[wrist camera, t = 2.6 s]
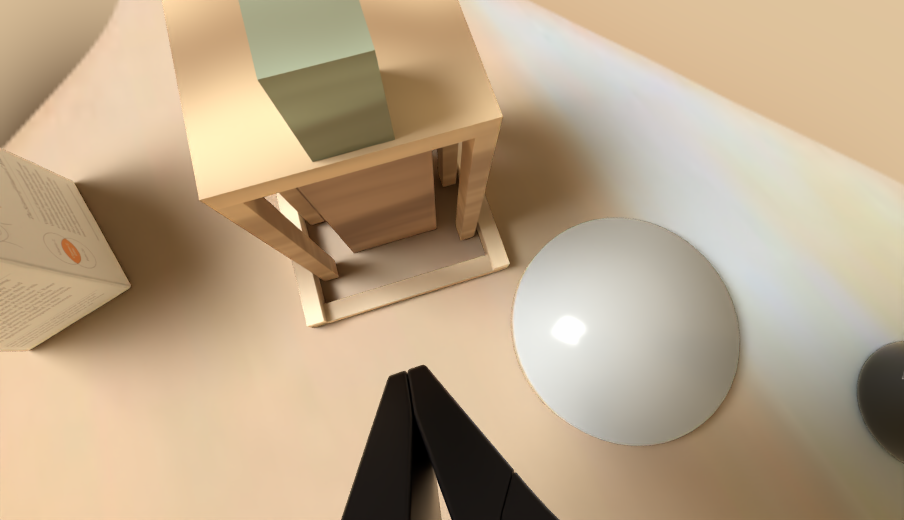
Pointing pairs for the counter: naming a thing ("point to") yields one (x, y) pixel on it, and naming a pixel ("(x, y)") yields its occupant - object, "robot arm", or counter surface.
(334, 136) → the wooden toy stool
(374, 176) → the walnut block
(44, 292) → the small box
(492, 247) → the track
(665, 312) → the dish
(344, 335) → the counter surface
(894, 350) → the supplement bottle
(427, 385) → the robot arm
